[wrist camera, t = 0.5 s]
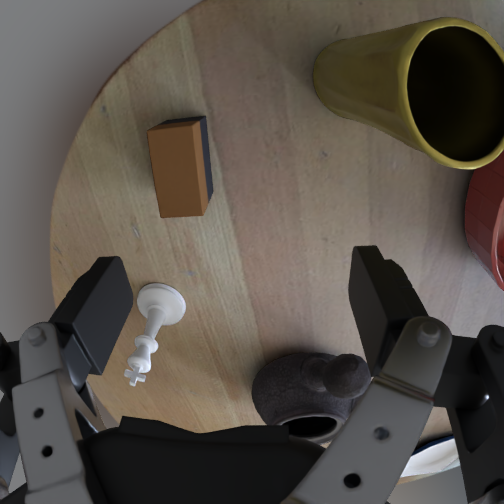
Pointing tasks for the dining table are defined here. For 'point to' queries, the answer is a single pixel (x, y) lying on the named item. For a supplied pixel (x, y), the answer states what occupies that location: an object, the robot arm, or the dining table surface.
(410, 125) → the vase
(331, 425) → the teapot
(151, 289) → the chess piece
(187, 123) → the eraser
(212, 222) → the dining table surface
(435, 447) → the plate
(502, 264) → the red bowl
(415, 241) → the dining table surface
